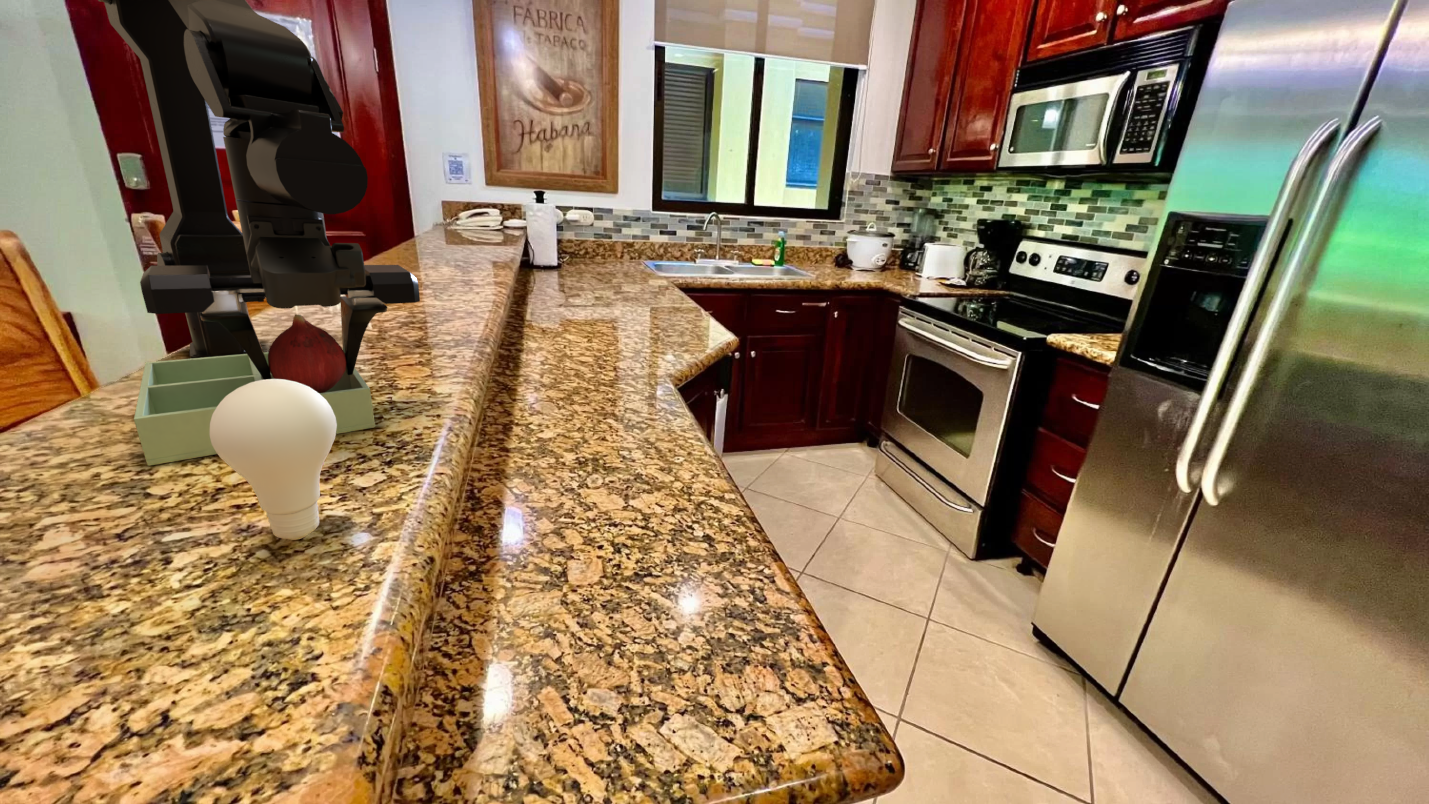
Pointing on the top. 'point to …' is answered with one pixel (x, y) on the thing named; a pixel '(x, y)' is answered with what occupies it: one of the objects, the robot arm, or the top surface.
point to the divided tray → (194, 388)
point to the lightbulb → (277, 448)
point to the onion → (307, 356)
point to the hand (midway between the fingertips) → (310, 378)
